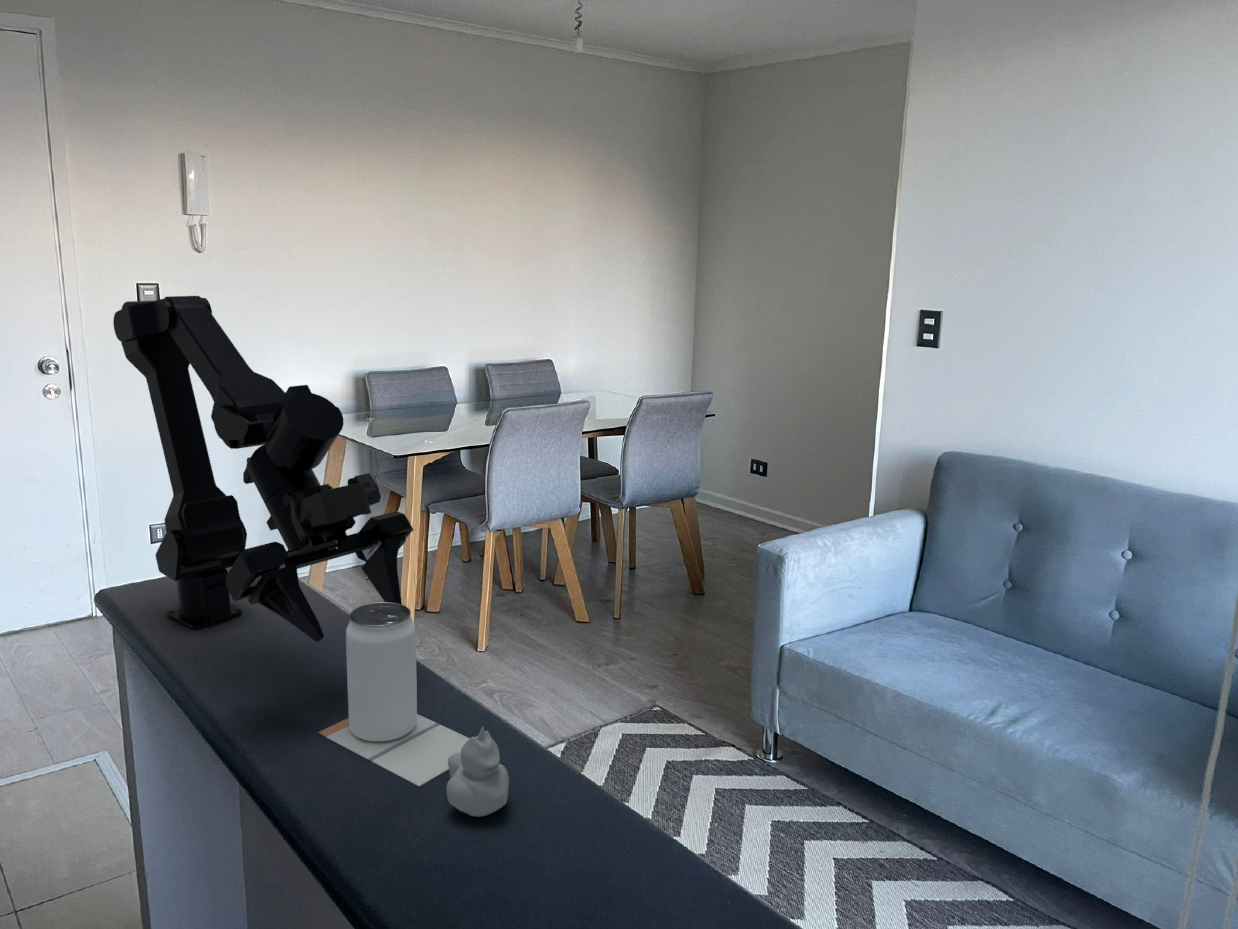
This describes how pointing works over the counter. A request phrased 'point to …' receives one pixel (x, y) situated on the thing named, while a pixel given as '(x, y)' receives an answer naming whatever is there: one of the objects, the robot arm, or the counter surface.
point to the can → (381, 672)
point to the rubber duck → (477, 777)
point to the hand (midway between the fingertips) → (361, 625)
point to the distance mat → (405, 749)
